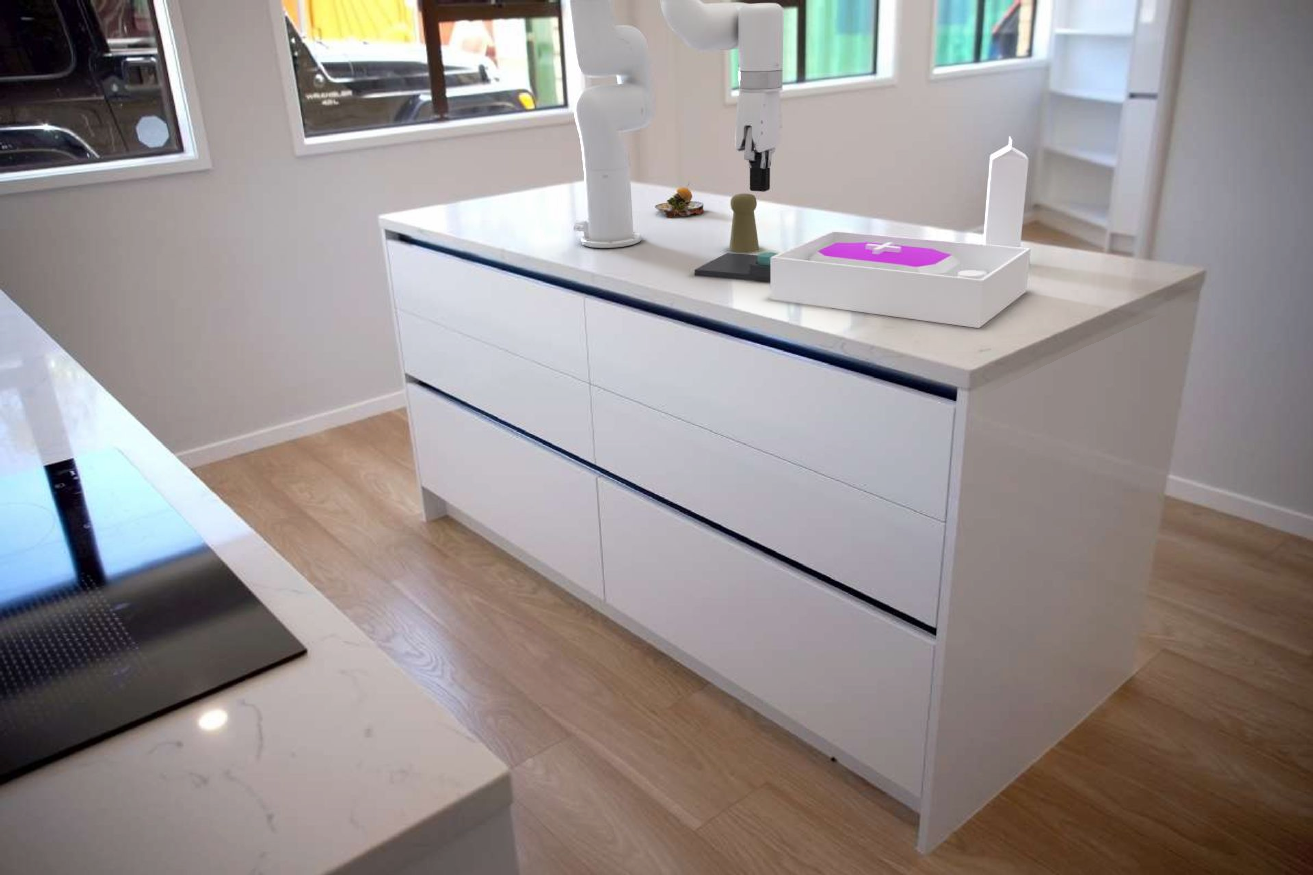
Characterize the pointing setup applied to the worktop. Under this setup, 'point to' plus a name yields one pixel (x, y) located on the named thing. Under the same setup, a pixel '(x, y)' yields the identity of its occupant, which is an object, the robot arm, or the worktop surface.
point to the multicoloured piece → (680, 204)
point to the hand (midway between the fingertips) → (759, 190)
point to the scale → (736, 268)
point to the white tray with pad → (902, 277)
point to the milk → (1005, 197)
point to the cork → (743, 224)
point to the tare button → (765, 258)
